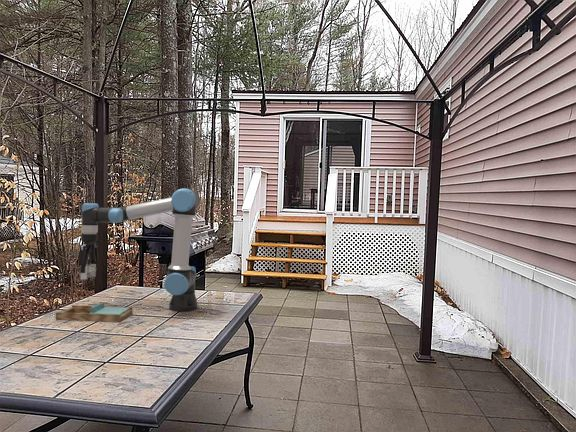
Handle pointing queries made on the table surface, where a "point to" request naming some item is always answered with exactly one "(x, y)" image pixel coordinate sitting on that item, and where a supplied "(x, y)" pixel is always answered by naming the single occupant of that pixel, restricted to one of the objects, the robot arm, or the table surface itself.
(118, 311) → the cover
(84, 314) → the board
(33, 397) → the table surface
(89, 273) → the game die
